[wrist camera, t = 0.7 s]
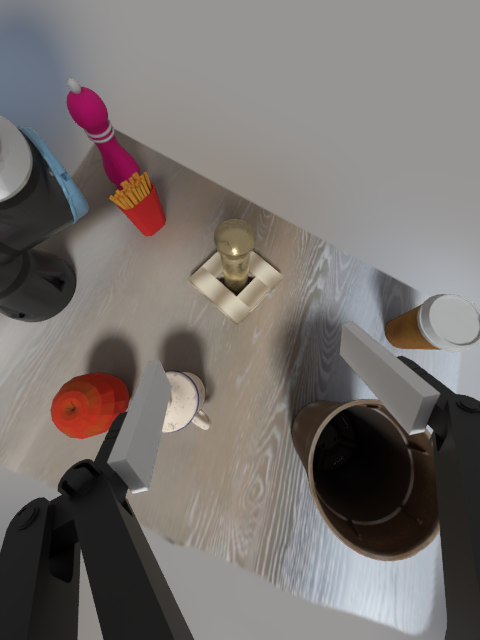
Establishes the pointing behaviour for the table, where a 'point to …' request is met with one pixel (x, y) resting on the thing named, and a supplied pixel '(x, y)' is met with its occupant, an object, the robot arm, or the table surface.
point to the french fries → (140, 204)
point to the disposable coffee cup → (437, 325)
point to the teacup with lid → (185, 402)
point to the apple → (89, 404)
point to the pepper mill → (100, 132)
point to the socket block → (223, 297)
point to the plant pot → (369, 477)
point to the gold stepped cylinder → (235, 252)
